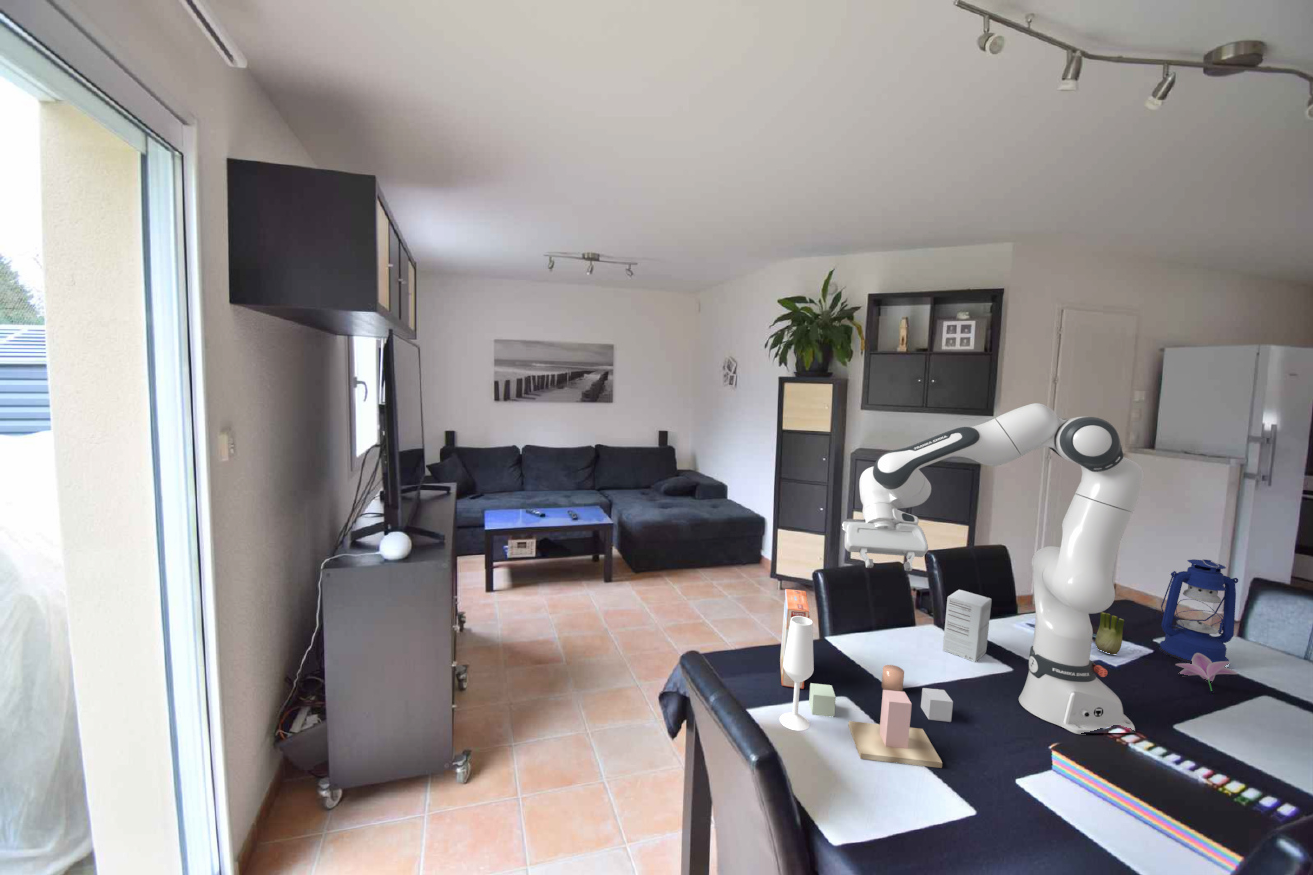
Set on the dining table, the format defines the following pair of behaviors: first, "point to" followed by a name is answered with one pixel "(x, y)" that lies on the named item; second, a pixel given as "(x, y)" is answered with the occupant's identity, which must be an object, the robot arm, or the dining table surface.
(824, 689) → the sage painted block
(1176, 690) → the dining table surface
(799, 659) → the champagne flute
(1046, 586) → the robot arm
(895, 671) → the terracotta cylinder
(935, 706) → the grey plastic block
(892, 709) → the rose block
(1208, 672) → the lily
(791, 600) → the cracker box
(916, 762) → the pine board
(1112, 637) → the fennel bulb
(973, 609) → the supplement box
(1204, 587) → the lantern
